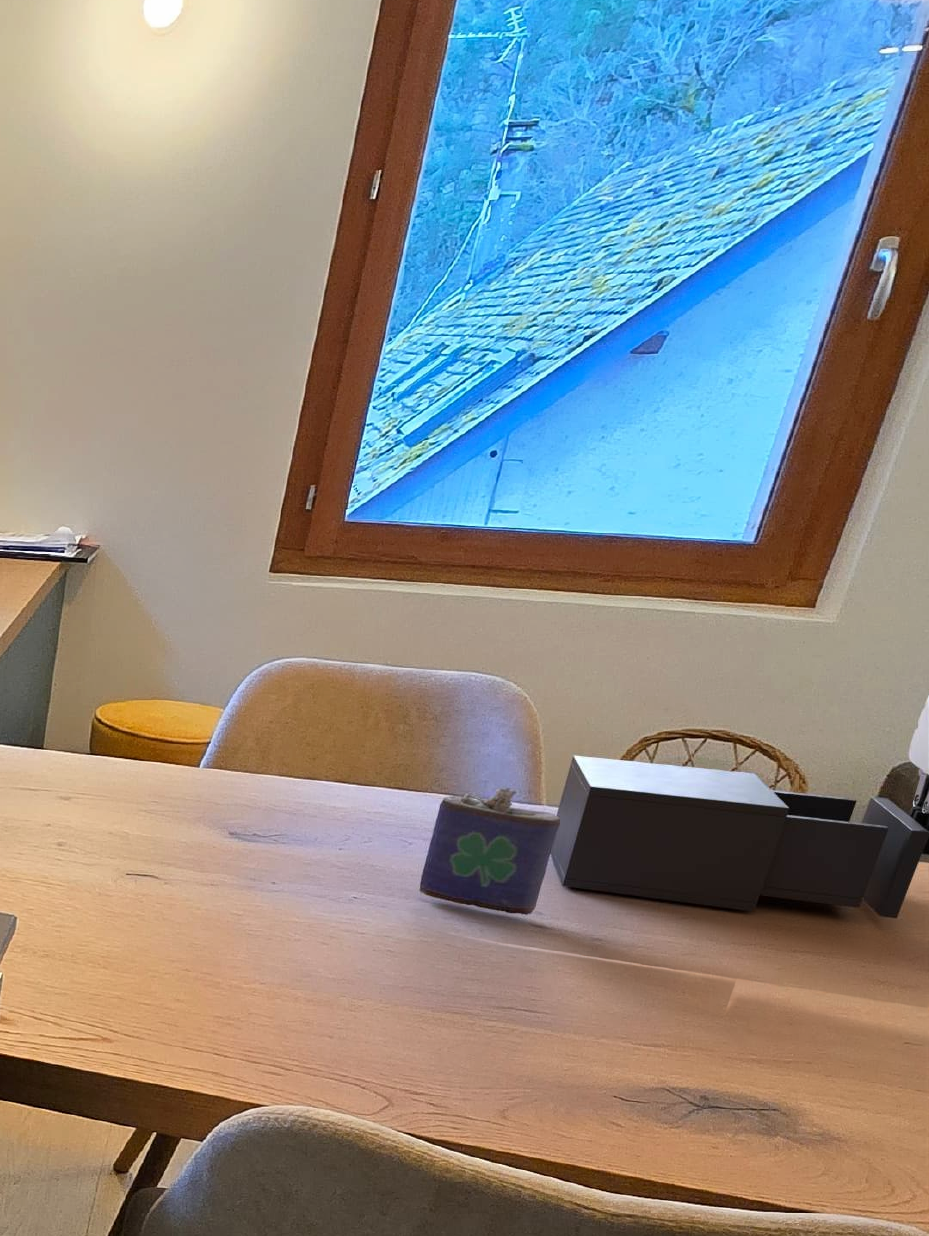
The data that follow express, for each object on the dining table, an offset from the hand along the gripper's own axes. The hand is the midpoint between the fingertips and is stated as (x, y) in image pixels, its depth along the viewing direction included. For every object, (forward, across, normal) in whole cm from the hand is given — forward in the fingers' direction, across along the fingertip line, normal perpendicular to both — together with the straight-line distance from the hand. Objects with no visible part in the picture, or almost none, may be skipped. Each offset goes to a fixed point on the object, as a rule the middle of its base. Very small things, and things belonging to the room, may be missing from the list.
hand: (922, 855), depth 120 cm
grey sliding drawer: (+4, 0, +6) cm, 7 cm away
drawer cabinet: (+5, 0, +19) cm, 20 cm away
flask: (+5, -15, +34) cm, 38 cm away
